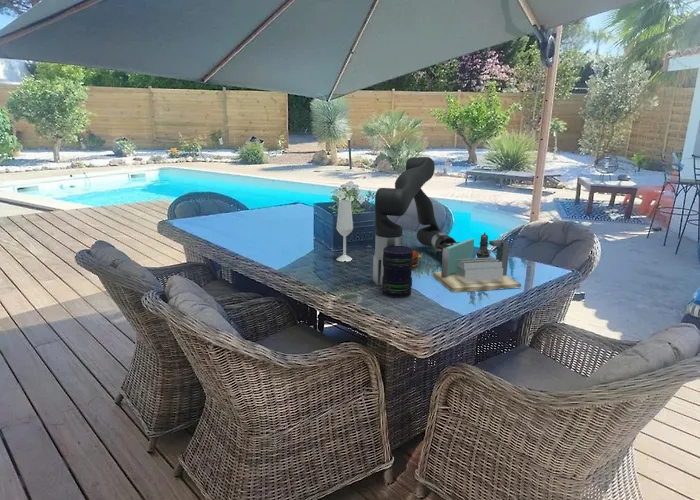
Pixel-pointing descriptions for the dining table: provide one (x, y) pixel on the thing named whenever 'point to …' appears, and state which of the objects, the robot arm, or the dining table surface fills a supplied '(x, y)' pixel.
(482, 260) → the cooler block
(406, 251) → the storage jar
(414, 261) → the hamburger
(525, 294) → the dining table surface
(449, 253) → the teal upright panel
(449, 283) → the mounting board
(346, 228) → the champagne flute
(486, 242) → the chess piece
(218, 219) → the dining table surface
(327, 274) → the dining table surface
